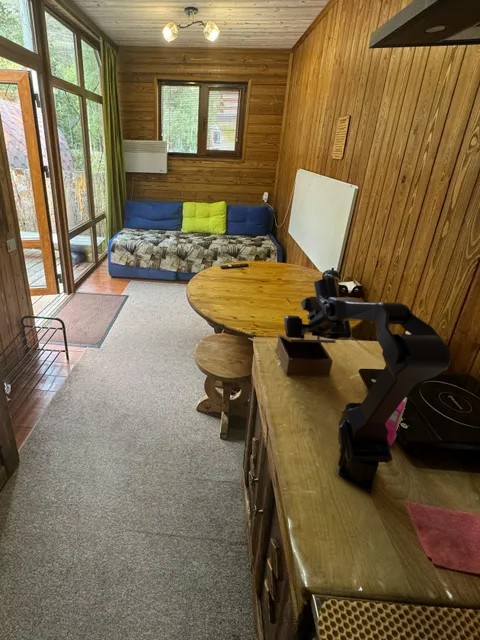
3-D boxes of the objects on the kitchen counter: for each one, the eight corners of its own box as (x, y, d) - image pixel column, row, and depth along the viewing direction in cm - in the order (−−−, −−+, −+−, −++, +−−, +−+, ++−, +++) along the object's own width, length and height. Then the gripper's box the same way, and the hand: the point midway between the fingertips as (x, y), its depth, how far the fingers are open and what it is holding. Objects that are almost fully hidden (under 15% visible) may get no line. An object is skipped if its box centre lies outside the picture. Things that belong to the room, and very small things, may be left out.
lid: (335, 343, 93) (335, 328, 94) (291, 342, 93) (290, 327, 94) (317, 337, 107) (317, 324, 107) (278, 336, 107) (278, 323, 107)
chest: (329, 375, 97) (332, 360, 95) (286, 374, 97) (288, 359, 95) (314, 350, 109) (317, 336, 107) (276, 349, 109) (278, 335, 107)
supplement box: (372, 419, 81) (382, 384, 78) (397, 434, 77) (409, 398, 74) (364, 432, 78) (374, 396, 74) (390, 448, 74) (402, 411, 70)
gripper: (354, 293, 88) (331, 310, 102) (289, 291, 88) (275, 309, 102) (363, 332, 83) (338, 344, 97) (294, 330, 83) (279, 343, 97)
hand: (307, 334), depth 98 cm, fingers closed on lid, 6 cm apart
